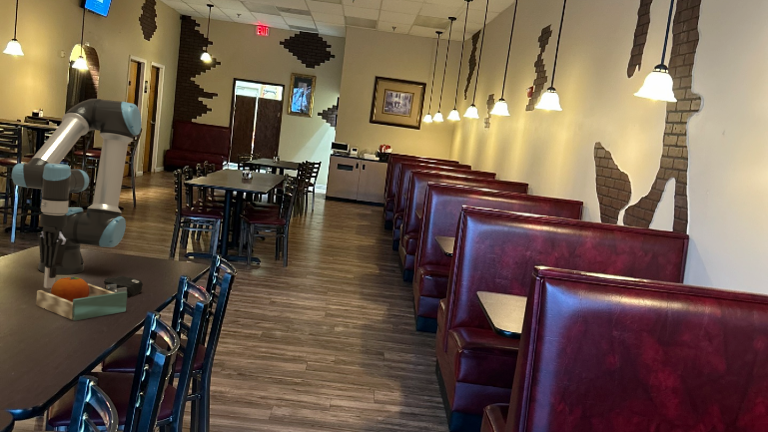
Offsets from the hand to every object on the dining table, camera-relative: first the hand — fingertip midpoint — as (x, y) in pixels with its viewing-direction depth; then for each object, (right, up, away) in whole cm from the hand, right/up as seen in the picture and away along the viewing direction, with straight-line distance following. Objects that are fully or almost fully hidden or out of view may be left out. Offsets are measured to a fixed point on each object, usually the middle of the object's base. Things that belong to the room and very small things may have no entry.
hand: (49, 287), depth 204 cm
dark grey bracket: (+21, -5, +1) cm, 21 cm away
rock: (+18, -4, +13) cm, 22 cm away
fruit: (+9, -5, -5) cm, 11 cm away
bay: (+14, -6, -8) cm, 17 cm away
